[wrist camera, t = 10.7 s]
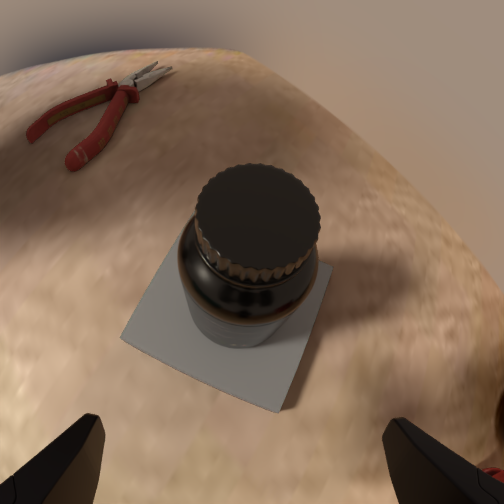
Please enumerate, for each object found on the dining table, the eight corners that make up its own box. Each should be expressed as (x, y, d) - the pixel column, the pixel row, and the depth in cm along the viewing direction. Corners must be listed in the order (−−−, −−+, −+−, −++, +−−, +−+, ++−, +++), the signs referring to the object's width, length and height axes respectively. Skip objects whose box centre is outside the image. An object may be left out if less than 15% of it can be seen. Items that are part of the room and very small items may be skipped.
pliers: (196, 82, 37) (196, 66, 34) (76, 179, 28) (68, 163, 25) (137, 63, 38) (136, 48, 36) (27, 144, 29) (20, 129, 27)
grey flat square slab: (327, 274, 26) (333, 266, 25) (274, 412, 20) (278, 413, 19) (197, 216, 27) (196, 207, 25) (124, 341, 21) (119, 337, 20)
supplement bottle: (195, 254, 24) (188, 134, 13) (285, 265, 24) (341, 157, 13) (181, 345, 20) (149, 283, 10) (281, 355, 21) (354, 306, 10)
